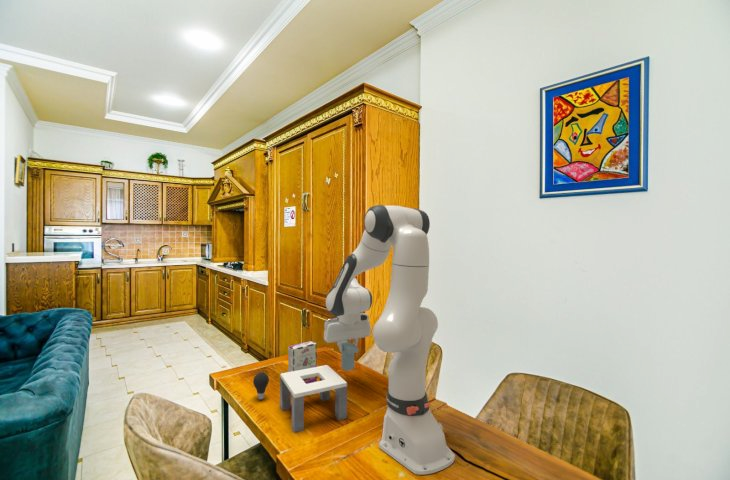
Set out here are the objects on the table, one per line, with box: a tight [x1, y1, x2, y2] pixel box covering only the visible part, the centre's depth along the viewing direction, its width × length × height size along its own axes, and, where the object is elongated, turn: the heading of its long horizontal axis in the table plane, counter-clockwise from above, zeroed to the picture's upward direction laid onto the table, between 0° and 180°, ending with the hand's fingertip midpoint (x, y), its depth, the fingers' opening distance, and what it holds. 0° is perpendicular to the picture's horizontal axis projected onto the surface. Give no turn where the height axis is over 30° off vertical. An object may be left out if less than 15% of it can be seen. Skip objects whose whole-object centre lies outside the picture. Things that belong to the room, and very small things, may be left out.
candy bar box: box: [287, 340, 318, 384], centre depth 137 cm, size 11×5×16 cm, turn 131°
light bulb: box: [252, 371, 270, 401], centre depth 123 cm, size 6×6×10 cm
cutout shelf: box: [279, 364, 348, 434], centre depth 114 cm, size 18×18×12 cm
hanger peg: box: [337, 340, 360, 372], centre depth 136 cm, size 12×4×10 cm, turn 28°
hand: (347, 350), depth 136 cm, fingers closed on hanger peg, 4 cm apart
